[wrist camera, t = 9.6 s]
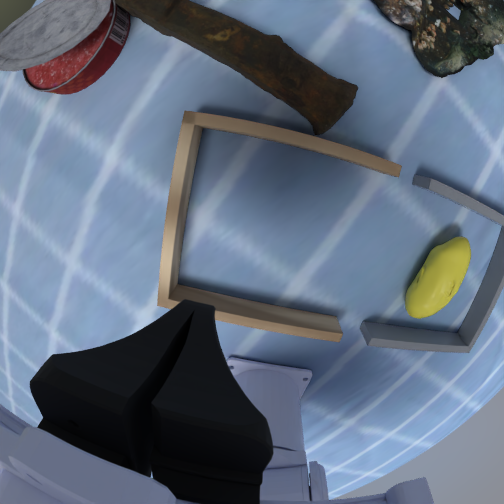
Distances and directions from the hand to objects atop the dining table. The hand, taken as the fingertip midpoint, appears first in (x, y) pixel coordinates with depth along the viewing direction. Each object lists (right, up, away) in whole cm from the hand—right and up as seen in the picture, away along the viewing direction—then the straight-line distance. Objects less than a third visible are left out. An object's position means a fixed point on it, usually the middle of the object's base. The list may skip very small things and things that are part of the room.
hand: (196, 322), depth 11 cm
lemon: (+18, +1, +10) cm, 20 cm away
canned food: (-12, +21, +4) cm, 24 cm away
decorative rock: (+19, +26, +1) cm, 32 cm away
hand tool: (0, +17, +5) cm, 18 cm away
